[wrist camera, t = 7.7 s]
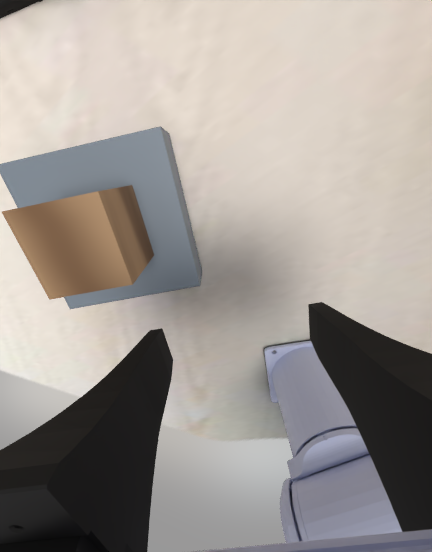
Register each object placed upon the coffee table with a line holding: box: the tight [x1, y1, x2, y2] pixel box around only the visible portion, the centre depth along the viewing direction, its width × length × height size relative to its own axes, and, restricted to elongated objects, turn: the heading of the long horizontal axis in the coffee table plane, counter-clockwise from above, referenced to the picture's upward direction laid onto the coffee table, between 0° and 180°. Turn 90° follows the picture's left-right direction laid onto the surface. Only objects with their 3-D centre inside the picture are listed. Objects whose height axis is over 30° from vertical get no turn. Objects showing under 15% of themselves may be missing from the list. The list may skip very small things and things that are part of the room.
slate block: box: [0, 127, 202, 309], centre depth 19 cm, size 11×11×4 cm
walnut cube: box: [2, 185, 154, 299], centre depth 15 cm, size 5×5×5 cm
